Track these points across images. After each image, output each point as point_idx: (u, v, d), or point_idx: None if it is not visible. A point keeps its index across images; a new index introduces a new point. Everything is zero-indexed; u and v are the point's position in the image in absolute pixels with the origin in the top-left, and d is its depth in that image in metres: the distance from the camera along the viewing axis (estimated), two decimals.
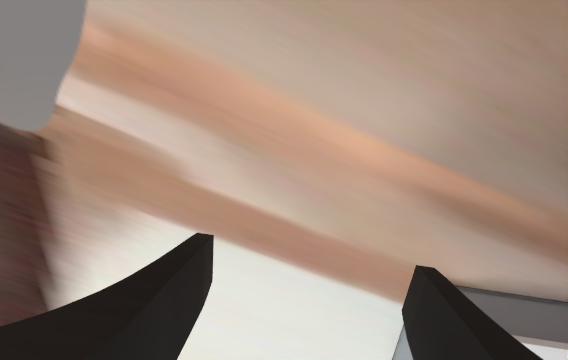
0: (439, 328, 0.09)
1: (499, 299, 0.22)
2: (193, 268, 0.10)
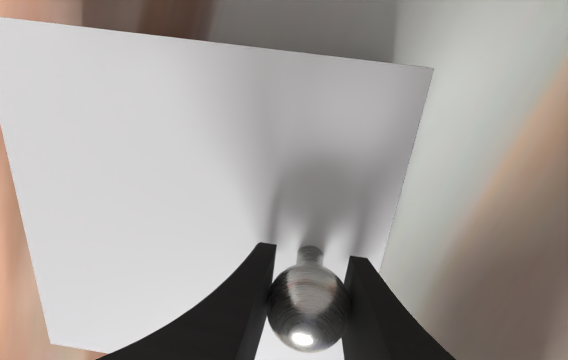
0: (358, 315, 0.09)
1: None
2: (266, 279, 0.10)
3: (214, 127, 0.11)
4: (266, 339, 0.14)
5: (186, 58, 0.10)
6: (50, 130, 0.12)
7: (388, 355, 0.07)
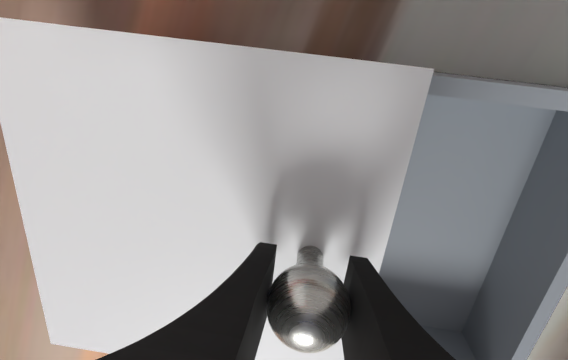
0: (358, 315, 0.09)
1: None
2: (267, 279, 0.10)
3: (215, 127, 0.11)
4: (266, 340, 0.14)
5: (186, 58, 0.10)
6: (51, 130, 0.12)
7: (388, 355, 0.07)
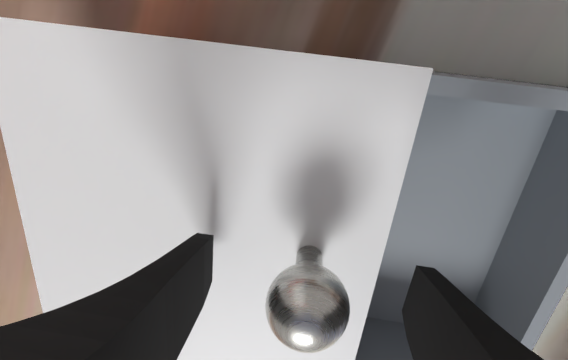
0: (439, 328, 0.09)
1: None
2: (193, 268, 0.10)
3: (214, 127, 0.11)
4: (265, 340, 0.14)
5: (185, 58, 0.10)
6: (50, 130, 0.12)
7: None
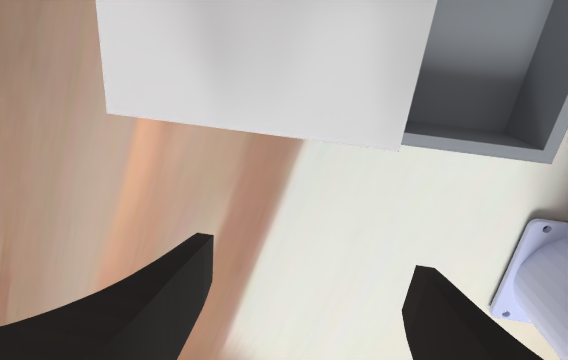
0: (439, 328, 0.09)
1: None
2: (192, 268, 0.10)
3: None
4: (323, 86, 0.15)
5: None
6: None
7: None
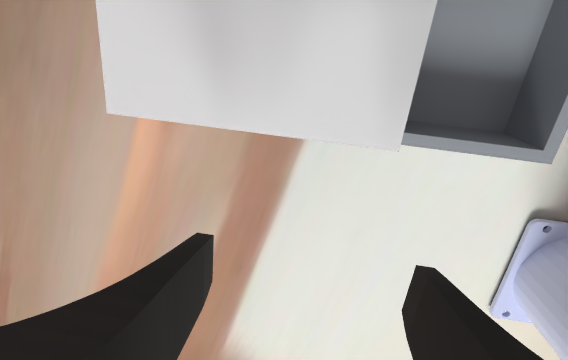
0: (439, 328, 0.09)
1: None
2: (192, 268, 0.10)
3: None
4: (323, 86, 0.15)
5: None
6: None
7: None
